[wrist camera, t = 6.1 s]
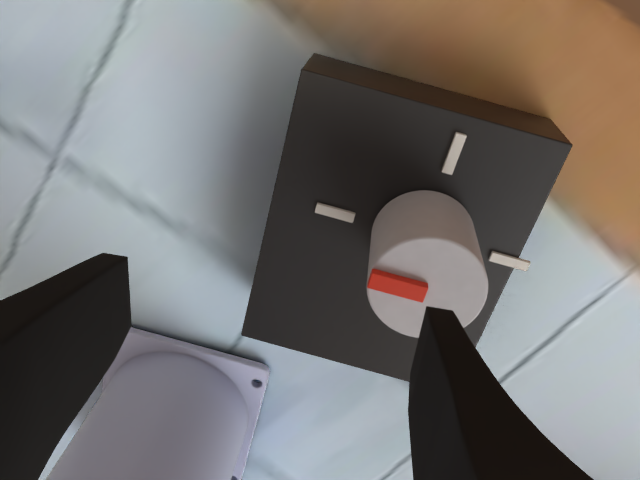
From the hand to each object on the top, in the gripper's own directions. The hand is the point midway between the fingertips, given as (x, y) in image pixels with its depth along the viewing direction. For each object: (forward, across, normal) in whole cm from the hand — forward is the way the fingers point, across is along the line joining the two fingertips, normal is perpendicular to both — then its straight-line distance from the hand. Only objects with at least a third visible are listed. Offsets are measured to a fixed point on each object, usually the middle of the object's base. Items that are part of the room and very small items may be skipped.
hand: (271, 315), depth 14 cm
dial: (+7, -4, +1) cm, 8 cm away
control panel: (+10, -3, +2) cm, 11 cm away
